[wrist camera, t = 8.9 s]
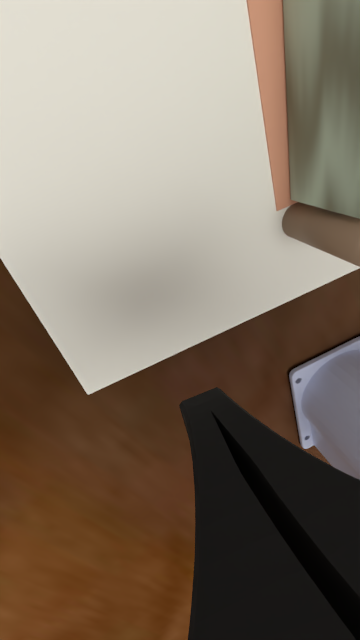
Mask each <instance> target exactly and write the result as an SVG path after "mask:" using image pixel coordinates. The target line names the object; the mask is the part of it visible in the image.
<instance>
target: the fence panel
mask: <svg viewBox="0 0 360 640" xmlns="http://www.w3.org/2000/svg"><path fill="white" fill-rule="evenodd" d="M283 15H284V40H285V65H286V91H287V116H288V141H289V167H290V192H291V200H294V201H297V202H301V203H304V204H308V205H312V206H315V207H319V208H323V209H326V210H330V211H334V212H337V213H341V214H344V215H348V216H352V217H355V218H359V219H360V0H283Z"/></svg>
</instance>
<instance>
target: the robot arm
mask: <svg viewBox="0 0 360 640" xmlns="http://www.w3.org/2000/svg"><path fill="white" fill-rule="evenodd" d="M289 378H290V384H291V390H292V396H293V402H294V408H295V414H296V420H297V426H298V432H299V438H300V444H301V446H302V447H303V448H304V449H307V448H310V447H311V446H313V445H315V447H316V448H317V449H318V450H319V451H320V452H321V454H322V455H323V456H324V457H325V458H326V459H327V461H328V462H329V463H330V464H331V465H332V466H331V465H329V464H327V463H325V462H323V461H321V460H320V459H318V458H316V457H314V456H312V455H311V454H309V453H307V452H305V451H304V450H302V449H300V448H299V447H297V446H295V445H294V444H292V443H291V442H289V441H288V440H286V439H285V438H283V437H281V436H280V435H278V434H277V433H275V432H274V431H273V430H271V429H270V428H268V427H267V426H265V425H264V424H263V423H261V422H260V421H259V420H257V419H256V418H254V417H253V416H252V415H250V414H249V413H248V412H247V411H245V410H244V409H243V408H242V407H240V406H239V405H238V404H237V403H235V402H234V401H233V400H232V399H231V398H229V397H228V396H227V395H226V394H225V393H224V392H223V391H222V390H221V389H219V388H217V387H216V388H214V389H211V390H209V391H207V392H204V393H202V394H199V395H197V396H194V397H192V398H189V399H187V400H184V401H182V402H181V404H180V405H179V406H180V409H181V413H182V416H183V420H184V423H185V426H186V430H187V433H188V437H189V440H190V446H191V453H192V460H193V472H194V485H195V518H196V527H195V562H194V578H193V591H192V605H191V616H190V626H189V635H188V640H360V336H359V337H357V338H355V339H353V340H351V341H349V342H347V343H345V344H343V345H341V346H339V347H337V348H335V349H333V350H331V351H329V352H326V353H324V354H322V355H320V356H318V357H316V358H314V359H312V360H310V361H308V362H306V363H304V364H302V365H300V366H298V367H296V368H294V369H293V370H292V371H291V372H290V374H289Z"/></svg>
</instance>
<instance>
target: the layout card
mask: <svg viewBox="0 0 360 640" xmlns="http://www.w3.org/2000/svg"><path fill="white" fill-rule="evenodd" d="M0 258H1V260H2V261H3V263H4V265H5V266H6V268H7V269H8V271H9V272H10V274H11V276H12V277H13V279H14V280H15V282H16V283H17V285H18V286H19V288H20V290H21V291H22V293H23V294H24V296H25V297H26V299H27V301H28V302H29V304H30V305H31V307H32V308H33V310H34V311H35V313H36V315H37V316H38V318H39V319H40V321H41V322H42V324H43V326H44V327H45V329H46V330H47V332H48V333H49V335H50V336H51V338H52V340H53V341H54V343H55V344H56V346H57V347H58V349H59V351H60V352H61V354H62V355H63V357H64V358H65V360H66V361H67V363H68V365H69V366H70V368H71V369H72V371H73V372H74V374H75V376H76V377H77V379H78V380H79V382H80V383H81V385H82V386H83V388H84V390H85V391H86V393H87V394H88V395H89V394H91V393H93V392H95V391H97V390H100V389H102V388H104V387H106V386H108V385H110V384H112V383H115V382H117V381H119V380H121V379H123V378H125V377H127V376H130V375H132V374H134V373H136V372H138V371H140V370H142V369H145V368H147V367H149V366H151V365H153V364H155V363H157V362H160V361H162V360H164V359H166V358H168V357H170V356H172V355H174V354H177V353H179V352H181V351H183V350H185V349H187V348H189V347H192V346H194V345H196V344H198V343H200V342H202V341H204V340H207V339H209V338H211V337H213V336H215V335H217V334H219V333H222V332H224V331H226V330H228V329H230V328H232V327H234V326H237V325H239V324H241V323H243V322H245V321H247V320H249V319H252V318H254V317H256V316H258V315H260V314H262V313H264V312H267V311H269V310H271V309H273V308H275V307H277V306H279V305H282V304H284V303H286V302H288V301H290V300H292V299H294V298H296V297H299V296H301V295H303V294H305V293H307V292H309V291H311V290H314V289H316V288H318V287H320V286H322V285H324V284H326V283H329V282H331V281H333V280H335V279H337V278H339V277H341V276H344V275H346V274H348V273H350V272H352V271H354V270H356V269H359V268H360V219H359V218H355V217H352V216H348V215H344V214H341V213H337V212H334V211H330V210H326V209H323V208H319V207H315V206H312V205H308V204H304V203H301V202H297V201H294V200H291V192H290V167H289V141H288V116H287V91H286V65H285V40H284V15H283V0H0Z"/></svg>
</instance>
